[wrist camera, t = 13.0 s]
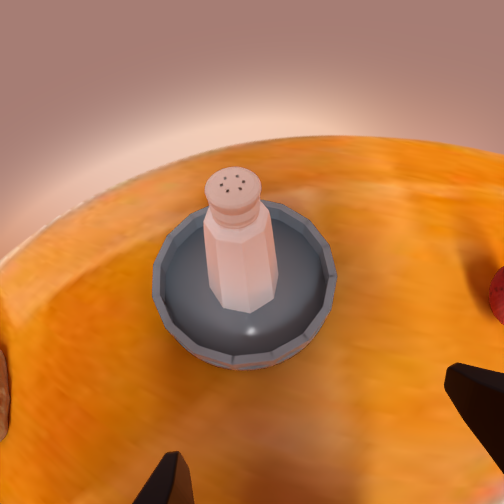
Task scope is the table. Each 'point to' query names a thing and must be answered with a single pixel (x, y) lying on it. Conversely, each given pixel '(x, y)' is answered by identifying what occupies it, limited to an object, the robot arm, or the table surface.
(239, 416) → the table surface
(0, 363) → the pastry
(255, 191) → the pepper shaker
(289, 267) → the dish
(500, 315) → the onion
